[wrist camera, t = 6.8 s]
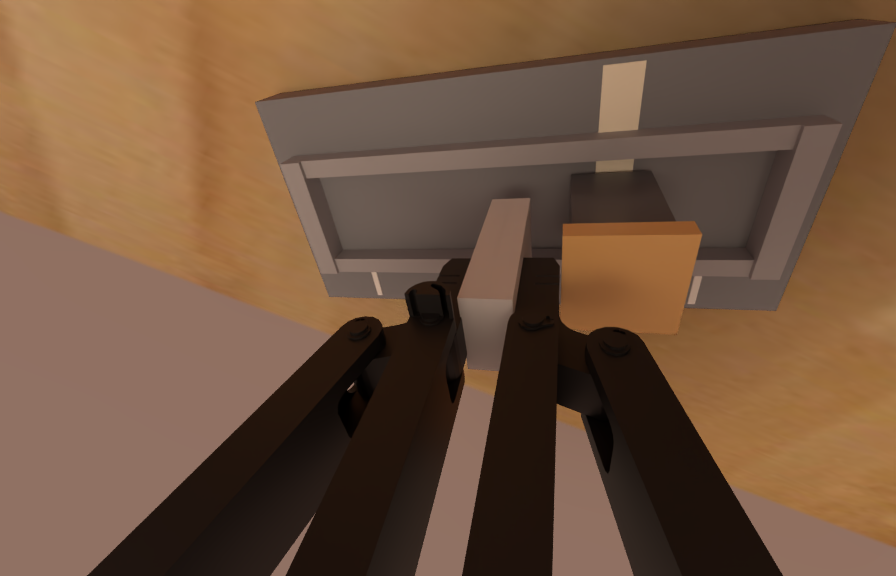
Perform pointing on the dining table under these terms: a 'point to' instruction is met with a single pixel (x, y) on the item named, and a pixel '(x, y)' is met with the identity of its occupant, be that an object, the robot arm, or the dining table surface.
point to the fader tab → (624, 255)
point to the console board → (581, 153)
